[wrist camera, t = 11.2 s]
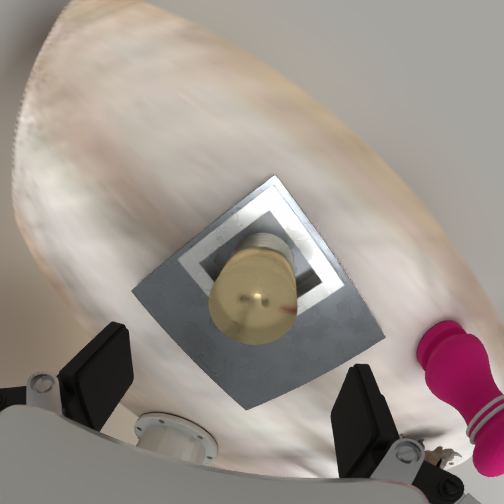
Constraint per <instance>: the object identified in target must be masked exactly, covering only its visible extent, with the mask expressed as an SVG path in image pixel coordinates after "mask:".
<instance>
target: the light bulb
mask: <svg viewBox="0 0 504 504" xmlns="http://www.w3.org/2000/svg"><path fill="white" fill-rule="evenodd" d="M297 310H298V303H297V292H296V282H295V271H294V262H293V255H292V252H291V250H290V248H289V247H288V245H287V244H286V243H285V242H284V241H283V240H282V239H280V238H279V237H277V236H275V235H272V234H269V233H256V234H252V235H250V236H247V237H246V238H244V239H243V240H242V241H241V242H240V243H239V244H238V245H237V247H236V248H235V250H234V252H233V253H232V255H231V257H230V258H229V260H228V262H227V263H226V265H225V267H224V268H223V270H222V271H221V273H220V275H219V276H218V278H217V280H216V281H215V283H214V285H213V287H212V289H211V291H210V294H209V311H210V315H211V317H212V320H213V321H214V323H215V325H216V326H217V327H218V329H219V330H220V331H221V332H222V333H224V334H225V335H226V336H228V337H229V338H231V339H233V340H235V341H237V342H240V343H244V344H250V345H260V344H266V343H270V342H273V341H275V340H277V339H279V338H280V337H282V336H283V335H285V334H286V333H287V332H288V331H289V329H290V328H291V327H292V325H293V324H294V321H295V319H296V316H297Z"/></svg>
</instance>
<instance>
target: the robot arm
mask: <svg viewBox="0 0 504 504" xmlns="http://www.w3.org/2000/svg"><path fill="white" fill-rule="evenodd" d="M133 379H134V373H133V366H132V358H131V349H130V339H129V331H128V329H126V327H125V325H124V324H120V323H117V322H111V323H110V324H109V325H107V326H106V327H105V328H104V329H103V330H102V331H101V332H100V333H99V334H98V335H97V336H96V337H95V338H94V339H93V340H91V341H90V342H89V343H88V344H87V345H86V346H85V347H84V348H83V349H82V350H81V351H80V352H79V353H78V354H77V355H76V356H75V357H74V358H73V359H72V360H71V361H70V362H69V363H68V364H67V365H66V366H65V367H64V368H62V370H60V371H59V374H58V375H57V376H55V375H54V374H52V373H50V372H43V371H42V372H37V373H35V374H33V375H32V376H30V377H29V379H28V381H27V386H22V387H12V388H1V389H0V504H481V503H480V502H478V501H477V500H476V499H475V498H474V497H473V496H471V495H470V494H469V493H468V494H467V495H465V494H464V485H463V482H462V481H461V479H460V478H458V477H457V476H455V475H453V474H451V473H449V472H447V471H445V470H443V469H441V468H439V467H437V466H435V465H433V464H431V463H429V462H427V461H425V460H424V457H425V451H424V449H423V447H422V446H421V445H420V443H418V442H417V441H415V440H412V439H409V438H403V439H400V437H399V434H398V431H397V429H396V426H395V423H394V421H393V418H392V415H391V413H390V410H389V408H388V405H387V402H386V400H385V397H384V396H383V395H382V394H381V393H380V391H379V388H378V386H377V383H376V380H375V378H374V376H373V373H372V371H371V368H370V366H369V365H368V364H355V365H354V366H353V367H350V368H349V370H348V373H347V375H346V378H345V380H344V383H343V385H342V388H341V390H340V392H339V395H338V397H337V399H336V402H335V404H334V406H333V409H332V411H331V423H332V430H333V436H334V443H335V450H336V457H337V465H338V473H339V478H295V477H279V476H268V475H259V474H251V473H243V472H237V471H231V470H225V469H219V468H214V467H209V466H204V465H205V464H208V463H210V462H212V461H213V460H214V459H215V458H216V455H217V451H218V447H217V444H216V442H215V440H214V439H213V438H212V437H211V436H210V434H208V433H207V432H206V431H205V430H203V429H202V428H200V427H199V426H197V425H195V424H193V423H192V422H190V421H187V420H185V419H182V418H180V417H176V416H173V415H169V414H163V413H149V414H144V415H143V416H141V417H140V418H139V419H138V420H137V422H136V424H135V433H136V435H137V437H138V439H139V442H138V444H137V445H136V446H133V445H131V444H128V443H126V442H123V441H120V440H118V439H115V438H113V437H110V436H108V435H105V434H103V433H100V432H99V431H100V430H101V429H102V427H103V426H104V424H105V423H106V421H107V419H108V418H109V417H110V415H111V413H112V412H113V411H114V409H115V407H116V406H117V404H118V403H119V402H120V400H121V399H122V397H123V396H124V394H125V393H126V391H127V390H128V388H129V387H130V385H131V384H132V382H133Z"/></svg>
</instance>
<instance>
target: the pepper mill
mask: <svg viewBox="0 0 504 504" xmlns="http://www.w3.org/2000/svg"><path fill="white" fill-rule="evenodd" d="M417 358H418V361H419V363H420V364H421V366H422V368H423V369H424V371H425V380H426V384H427V386H428V387H429V389H430V390H431V392H432V393H433V394H434V395H435V396H436V397H438V398H439V399H440V400H442V401H444V402H446V403H448V404H450V405H451V406H453V407H454V408H455V409H457V410H458V411H459V413H460V414H461V415H462V417H463V418H464V419H465V422H466V424H467V426H468V427H467V430H466V435H467V436H468V437H469V438H470V443H471V444H475V448H474V451H473V463H474V466H475V468H476V469H477V470H478V472H479V473H480V474H482V475H484V476H487V477H495V476H499V475H502V474H504V395H503V394H502V393H501V391H500V390H499V389H498V387H497V386H496V384H495V382H494V379H493V377H492V374H491V369H490V365H489V359H488V355H487V352H486V350H485V348H484V346H483V344H482V343H481V341H480V340H479V339H478V338H477V337H476V336H474V335H472V334H466V332H465V331H464V329H463V328H462V327H461V326H460V325H459V324H458V323H456V322H454V321H444V322H441V323H439V324H437V325H435V326H434V327H432V328H431V329H430V330H429V331H428V332H427V333H426V334H425V336H424V337H423V338H422V340H421V342H420V344H419V347H418V350H417Z"/></svg>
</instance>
